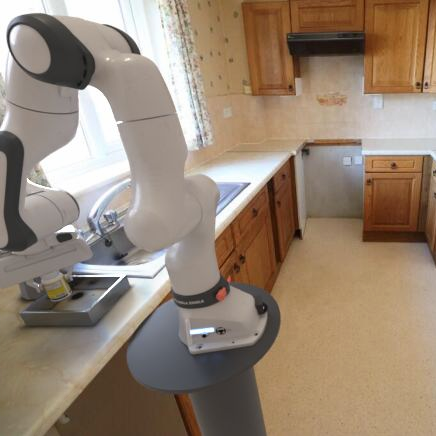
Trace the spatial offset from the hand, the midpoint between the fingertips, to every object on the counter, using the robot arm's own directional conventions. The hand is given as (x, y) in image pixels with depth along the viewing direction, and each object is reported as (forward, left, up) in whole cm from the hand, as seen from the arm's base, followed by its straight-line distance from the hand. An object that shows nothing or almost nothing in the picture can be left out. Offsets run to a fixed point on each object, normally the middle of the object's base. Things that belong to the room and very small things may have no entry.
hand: (56, 285), depth 87 cm
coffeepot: (+15, -9, -9) cm, 20 cm away
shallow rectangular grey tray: (-2, -3, -9) cm, 9 cm away
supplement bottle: (0, 0, -4) cm, 4 cm away
